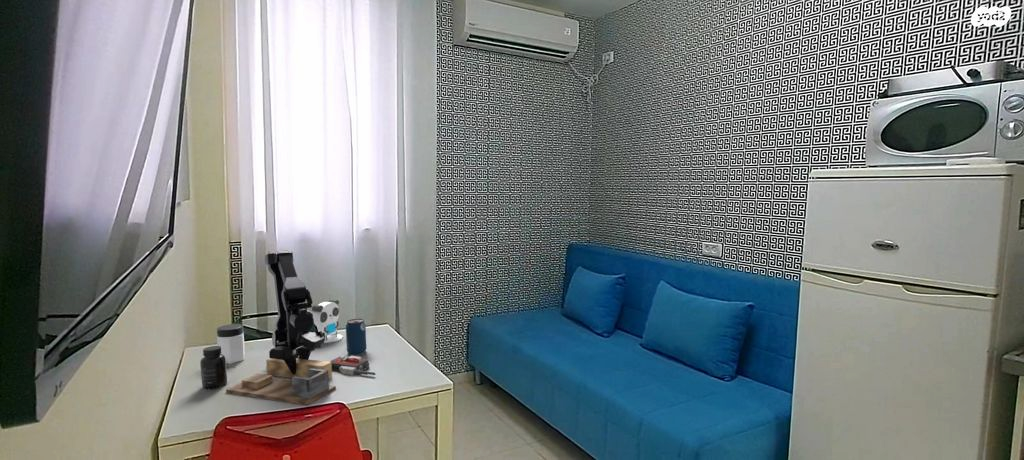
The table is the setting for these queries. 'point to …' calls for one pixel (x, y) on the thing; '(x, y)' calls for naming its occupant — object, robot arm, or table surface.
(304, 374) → the oak rail
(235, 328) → the jar
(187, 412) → the table surface
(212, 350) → the supplement bottle
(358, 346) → the soda can
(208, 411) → the table surface
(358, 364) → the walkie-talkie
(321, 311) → the panda figurine
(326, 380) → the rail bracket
